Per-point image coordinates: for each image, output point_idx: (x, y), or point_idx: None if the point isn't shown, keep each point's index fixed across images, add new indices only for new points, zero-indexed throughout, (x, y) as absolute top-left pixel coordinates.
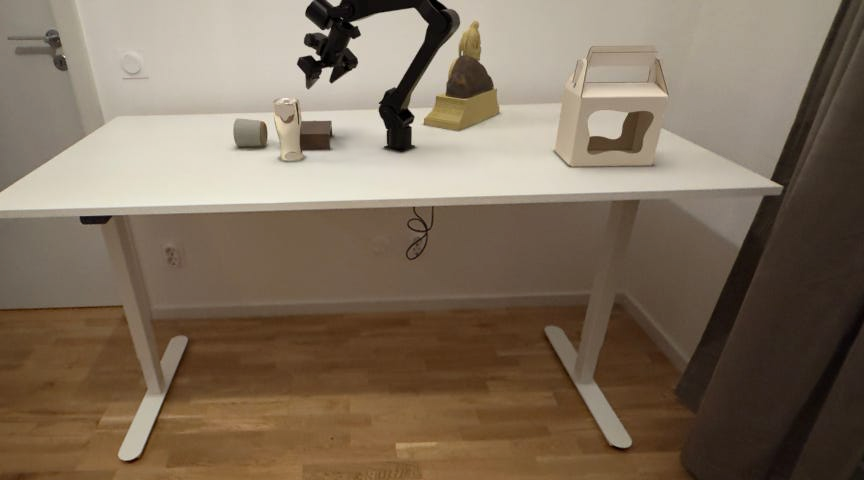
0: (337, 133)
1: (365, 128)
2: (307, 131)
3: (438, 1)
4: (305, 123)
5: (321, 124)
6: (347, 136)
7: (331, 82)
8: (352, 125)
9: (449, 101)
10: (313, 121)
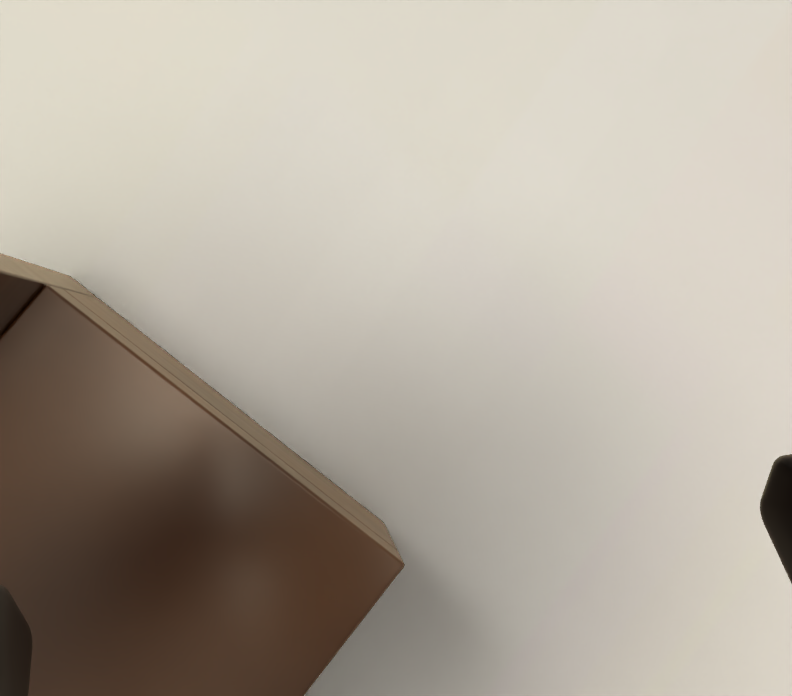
0: (472, 481)
1: None
2: None
3: None
4: (87, 472)
5: (209, 641)
6: (481, 630)
7: (778, 530)
8: (742, 346)
9: None
10: (217, 459)
